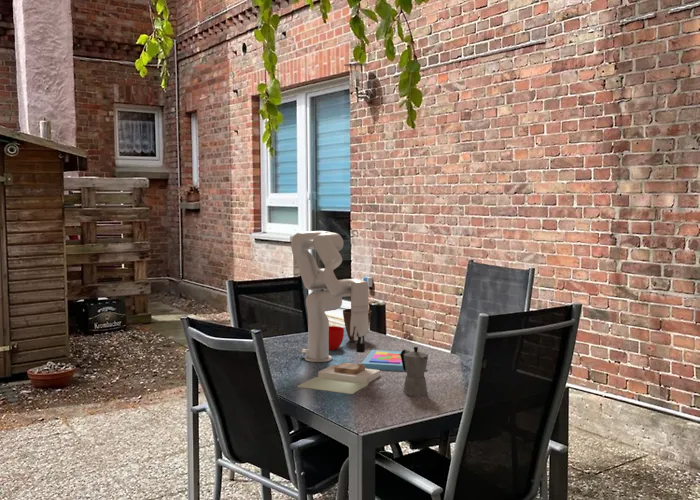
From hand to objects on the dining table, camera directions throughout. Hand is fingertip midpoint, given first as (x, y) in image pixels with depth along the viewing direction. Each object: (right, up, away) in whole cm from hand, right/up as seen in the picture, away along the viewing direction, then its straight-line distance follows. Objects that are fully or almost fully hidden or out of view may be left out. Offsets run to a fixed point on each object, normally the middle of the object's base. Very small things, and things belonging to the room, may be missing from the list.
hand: (360, 352), depth 300 cm
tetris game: (+17, -8, +17) cm, 26 cm away
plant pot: (-1, -4, +64) cm, 64 cm away
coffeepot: (+20, -11, -30) cm, 38 cm away
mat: (-11, -10, -21) cm, 26 cm away
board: (-5, -9, -8) cm, 13 cm away
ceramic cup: (-13, -5, +48) cm, 50 cm away
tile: (-5, -7, -7) cm, 11 cm away
